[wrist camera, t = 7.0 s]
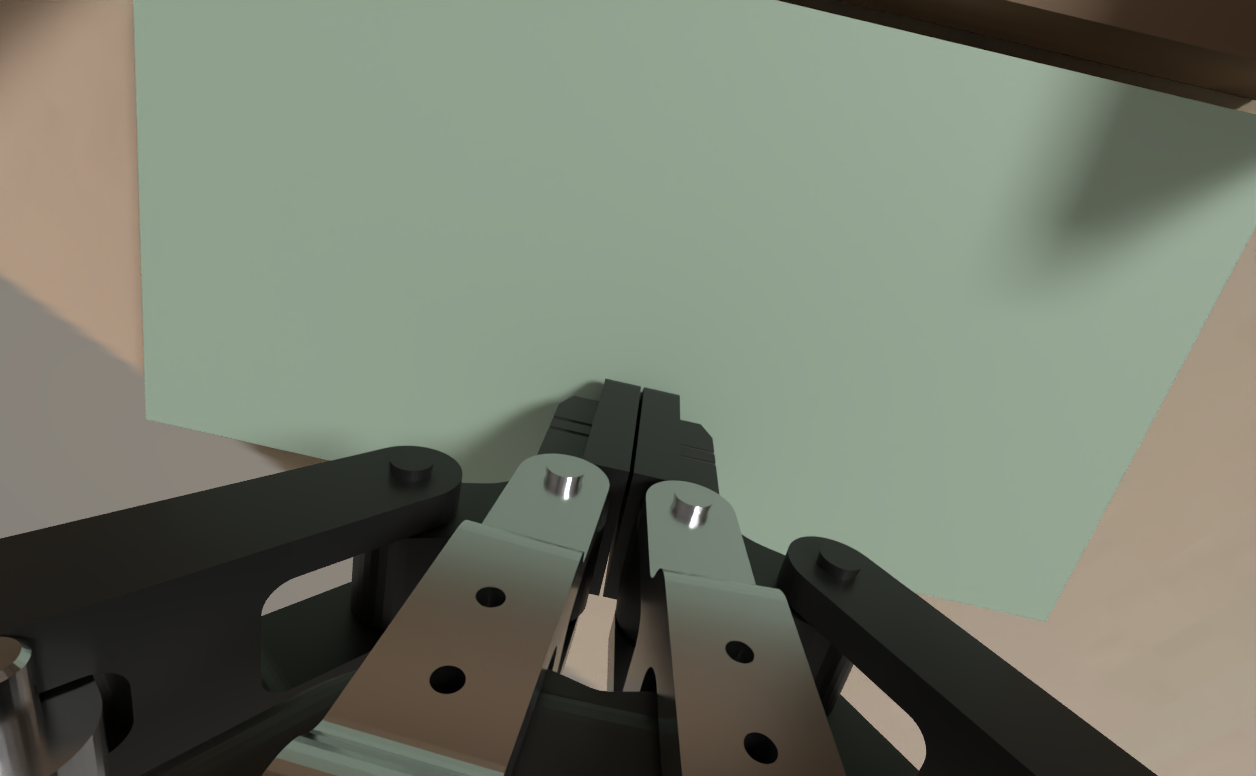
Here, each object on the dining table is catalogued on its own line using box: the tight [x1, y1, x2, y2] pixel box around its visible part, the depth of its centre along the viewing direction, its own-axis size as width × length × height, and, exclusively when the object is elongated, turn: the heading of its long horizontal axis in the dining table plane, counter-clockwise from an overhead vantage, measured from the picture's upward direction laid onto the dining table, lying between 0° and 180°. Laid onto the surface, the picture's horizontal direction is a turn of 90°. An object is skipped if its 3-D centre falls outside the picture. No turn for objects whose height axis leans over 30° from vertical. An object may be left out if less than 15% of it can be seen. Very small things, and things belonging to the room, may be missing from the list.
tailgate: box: [133, 0, 1256, 622], centre depth 13 cm, size 2×19×10 cm
